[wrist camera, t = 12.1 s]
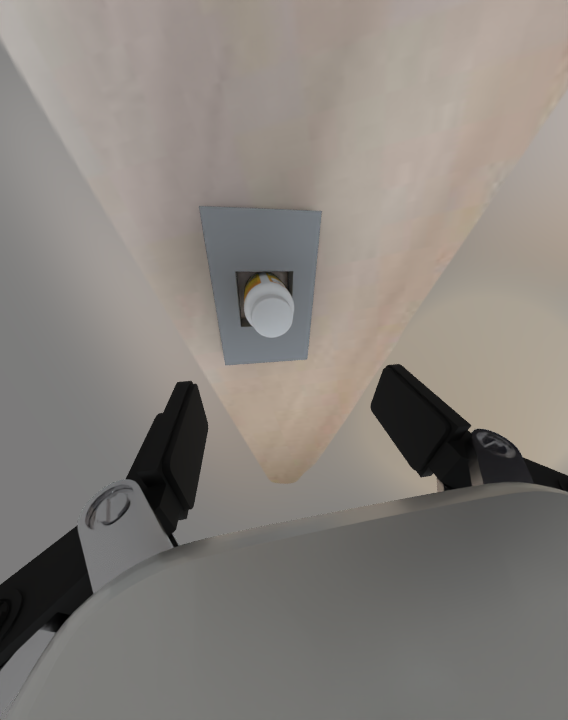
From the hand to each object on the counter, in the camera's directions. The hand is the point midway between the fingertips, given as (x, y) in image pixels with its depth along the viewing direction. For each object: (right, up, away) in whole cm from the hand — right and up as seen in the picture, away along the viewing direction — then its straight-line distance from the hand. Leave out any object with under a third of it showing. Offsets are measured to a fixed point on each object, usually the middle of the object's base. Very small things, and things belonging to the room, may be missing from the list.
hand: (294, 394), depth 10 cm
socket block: (-3, +11, +17) cm, 20 cm away
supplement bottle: (-3, +11, +17) cm, 20 cm away
